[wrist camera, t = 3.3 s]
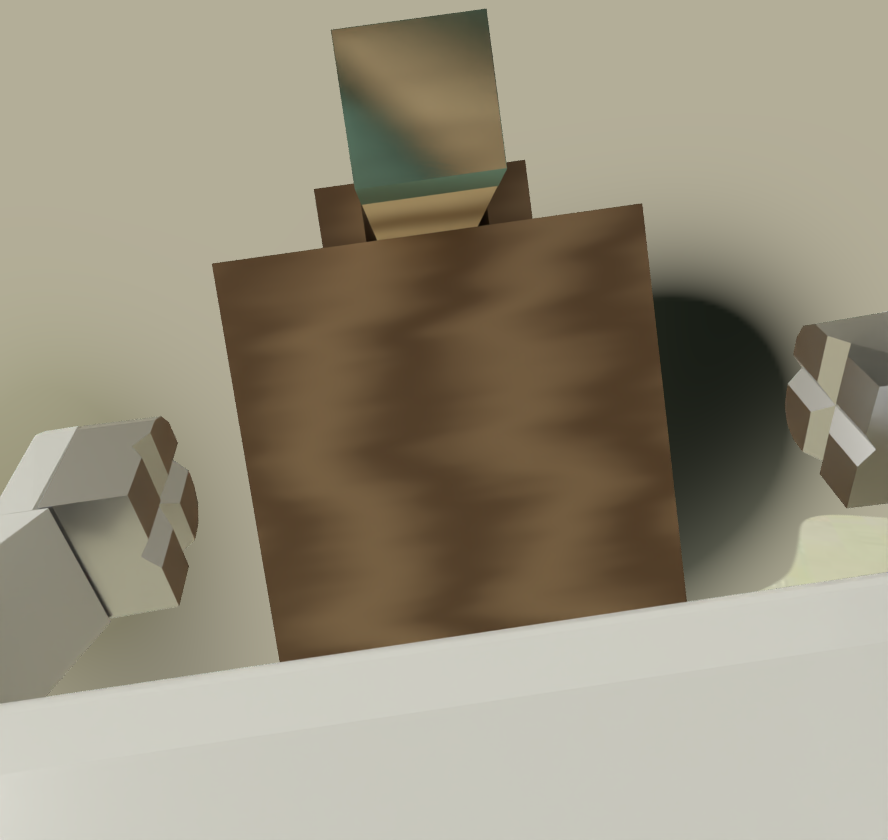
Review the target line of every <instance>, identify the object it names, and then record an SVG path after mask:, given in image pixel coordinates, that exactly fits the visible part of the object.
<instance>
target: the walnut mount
mask: <svg viewBox="0 0 888 840" xmlns="http://www.w3.org/2000/svg"><path fill="white" fill-rule="evenodd" d="M506 164H507V170H506V172H505V174H504V176H503V178H502V180H501V182H500V184H499V186H497V188H496V190H495V192H494V194H493V196H492V198H491V201H490V203H489V205H488V207H487V209H486V211H485V213H484V215H483V217H482V219H481V221H480V223H479V225H478V226H477V227H470V228H463V229H456V230H449V231H442V232H435V233H428V234H420V235H413V236H406V237H399V238H392V239H385V240H378V241H377V239H376V236H375V234H374V232H373V229H372V227H371V225H370V222H369V220H368V218H367V215H366V213H365V211H364V208H363V206H362V205H361V203H360V200H359V198H358V196H357V193H356V191H355V187H354V184H347V185H340V186H333V187H326V188H319V189H314V193H315V199H316V206H317V212H318V219H319V225H320V231H321V238H322V244H323V248H321V249H313V250H307V251H299V252H292V253H285V254H278V255H270V256H263V257H257V258H249V259H243V260H235V261H228V262H220V263H213V264H212V267H213V273H214V278H215V284H216V290H217V296H218V302H219V307H220V314H221V320H222V325H223V331H224V337H225V343H226V349H227V355H228V361H229V367H230V373H231V378H232V384H233V390H234V396H235V402H236V408H237V413H238V419H239V425H240V431H241V437H242V442H243V449H244V455H245V461H246V466H247V472H248V478H249V484H250V490H251V496H252V502H253V508H254V514H255V519H256V525H257V531H258V537H259V543H260V548H261V555H262V561H263V566H264V572H265V578H266V584H267V589H268V595H269V602H270V607H271V613H272V619H273V625H274V631H275V636H276V643H277V649H278V654H279V660H280V662H285V661H292V660H299V659H306V658H312V657H319V656H326V655H333V654H339V653H346V652H353V651H360V650H366V649H373V648H380V647H387V646H393V645H400V644H407V643H414V642H421V641H427V640H434V639H441V638H448V637H454V636H461V635H468V634H475V633H481V632H488V631H495V630H501V629H508V628H515V627H521V626H528V625H535V624H541V623H548V622H555V621H561V620H568V619H575V618H581V617H588V616H595V615H601V614H608V613H615V612H621V611H628V610H635V609H641V608H648V607H655V606H661V605H668V604H675V603H681V602H687V600H686V591H685V582H684V573H683V565H682V555H681V546H680V537H679V528H678V520H677V510H676V501H675V493H674V484H673V475H672V466H671V457H670V448H669V440H668V430H667V421H666V413H665V403H664V396H663V395H664V394H663V385H662V376H661V367H660V358H659V350H658V341H657V332H656V323H655V314H654V305H653V296H652V288H651V279H650V270H649V260H648V251H647V244H646V243H647V242H646V233H645V225H644V216H643V207H642V204H634V205H628V206H620V207H613V208H606V209H599V210H593V211H584V212H577V213H570V214H563V215H556V216H549V217H542V218H534V219H532V211H531V203H530V196H529V188H528V180H527V173H526V164H525V160H520V161H513V162H506Z"/></svg>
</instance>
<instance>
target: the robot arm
mask: <svg viewBox="0 0 888 840" xmlns="http://www.w3.org/2000/svg"><path fill="white" fill-rule="evenodd" d="M793 355H794V356H795V358H796V359H797V361H798V362H799V364H800V365H801V366H802V368H801V370H800V371H799V372H798V373H797V374H796V375H795V377H794V378H793V379H792V380H791V381H790V382H789V383H788V386H787V393H786V400H785V411H786V417H787V424H788V427H789V430H790V432H791V434H792V437H793V439H794V440H795V442H796V443H797V445H798V446H799V447H800V449H801V450H802V451H803V452H804V453H807V454H809V455H811V456H813V457H815V458H817V459H820V460H822V461H823V462H822V466H821V471H820V475H821V476H822V477H823V479H824V480H825V481H826V483H827V484H828V485H829V486H830V488H831V489H832V490H833V492H834V493H835V494H836V495H837V496H838V498H839V499H840V500H841V502H842V503H843V504H844V506H845V507H846V508H854V507H862V506H870V505H879V504H887V503H888V311H887V312H882V313H877V314H871V315H865V316H859V317H853V318H847V319H842V320H835V321H830V322H823V323H818V324H812V325H805V326H803V327H802V329H801V331H800V333H799V335H798V336H797V339H796V344H795V349H794V354H793ZM177 444H178V442H177V440H176V438H175V436H174V433H173V431H172V429H171V426H170V424H169V422H168V421H166V420H165V419H164V418H163V417H161V416H160V417H152V418H143V419H135V420H127V421H119V422H111V423H102V424H94V425H86V426H83V427H79V426H76V427H69V428H63V429H56V430H50V431H44V432H42V433H40V434H37V435H36V436H35V437H34V438H33V440H32V442H31V444H30V445H29V447H28V449H27V451H26V452H25V454H24V456H23V458H22V459H21V461H20V463H19V465H18V467H17V468H16V470H15V472H14V474H13V475H12V477H11V479H10V481H9V483H8V484H7V486H6V488H5V490H4V491H3V493H2V495H1V497H0V840H888V572H885V573H878V574H871V575H864V576H858V577H851V578H844V579H837V580H831V581H824V582H817V583H810V584H803V585H797V586H790V587H783V588H776V589H770V590H763V591H756V592H749V593H742V594H736V595H729V596H722V597H716V598H709V599H702V600H695V601H689V602H681V603H675V604H668V605H661V606H655V607H648V608H641V609H635V610H628V611H621V612H615V613H608V614H601V615H595V616H588V617H581V618H575V619H568V620H561V621H555V622H548V623H541V624H535V625H528V626H521V627H515V628H508V629H501V630H495V631H488V632H481V633H475V634H468V635H461V636H454V637H448V638H441V639H434V640H427V641H421V642H414V643H407V644H400V645H393V646H387V647H380V648H373V649H366V650H360V651H353V652H346V653H339V654H333V655H326V656H319V657H312V658H306V659H299V660H292V661H285V662H279V663H272V664H265V665H259V666H252V667H245V668H239V669H231V670H225V671H218V672H211V673H204V674H197V675H191V676H184V677H177V678H170V679H164V680H157V681H150V682H143V683H137V684H130V685H123V686H116V687H110V688H103V689H96V690H89V691H83V692H76V693H69V694H63V695H56V696H49V697H46V696H47V695H48V694H49V693H50V691H51V690H52V689H53V688H54V687H55V686H56V684H57V683H58V682H59V681H60V680H61V679H62V678H63V676H64V675H65V674H66V673H67V672H68V671H69V669H70V668H71V667H72V666H73V665H74V664H75V662H76V661H77V660H78V659H79V658H80V657H81V656H82V654H83V653H84V652H85V651H86V650H87V649H88V647H89V646H90V645H91V644H92V643H93V642H94V641H95V639H96V638H97V637H98V636H99V635H100V634H101V632H102V631H103V630H104V629H105V628H106V627H107V626H108V624H109V623H110V618H115V617H121V616H127V615H132V614H138V613H144V612H149V611H155V610H161V609H166V608H172V607H178V606H179V605H180V600H181V596H182V593H183V588H184V584H185V580H186V576H187V571H188V567H189V565H188V563H187V560H186V558H185V556H184V553H183V551H184V550H185V549H186V548H187V547H188V546H189V545H190V544H191V543H193V542H194V541H195V537H196V532H197V528H198V501H197V496H196V492H195V487H194V484H193V481H192V478H191V476H190V473H189V471H188V470H187V469H186V468H184V467H183V466H181V465H180V464H178V463H177V462H176V461H174V460H173V458H174V454H175V451H176V447H177Z"/></svg>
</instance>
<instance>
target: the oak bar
mask: <svg viewBox="0 0 888 840" xmlns="http://www.w3.org/2000/svg"><path fill="white" fill-rule="evenodd" d="M331 34H332V40H333V46H334V54H335V60H336V66H337V74H338V81H339V87H340V94H341V100H342V106H343V114H344V120H345V127H346V133H347V140H348V147H349V154H350V161H351V167H352V174H353V180H354V187H355V191H356V193H357V196H358V198H359V200H360V203H361V205H362V206H363V208H364V211H365V213H366V215H367V218H368V220H369V222H370V225H371V227H372V229H373V232H374V234H375V236H376V239H377V241H378V240H385V239H392V238H399V237H406V236H413V235H420V234H428V233H435V232H442V231H449V230H456V229H463V228H470V227H477V226H478V225H479V223H480V221H481V219H482V217H483V215H484V213H485V211H486V209H487V207H488V205H489V203H490V201H491V198H492V196H493V194H494V192H495V190H496V188H497V186H499V184H500V182H501V180H502V178H503V176H504V174H505V172H506V170H507V164H506V157H505V150H504V141H503V134H502V125H501V118H500V110H499V102H498V94H497V87H496V79H495V72H494V64H493V56H492V48H491V41H490V33H489V25H488V18H487V9H481V10H473V11H466V12H460V13H451V14H444V15H437V16H430V17H422V18H416V19H415V18H414V19H407V20H400V21H392V22H386V23H378V24H370V25H363V26H356V27H348V28H342V29H333V30H331Z"/></svg>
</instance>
